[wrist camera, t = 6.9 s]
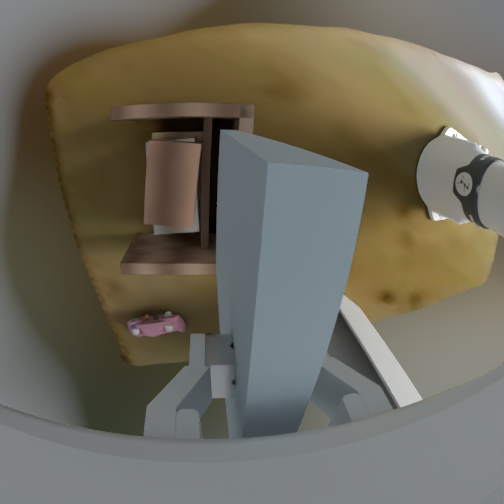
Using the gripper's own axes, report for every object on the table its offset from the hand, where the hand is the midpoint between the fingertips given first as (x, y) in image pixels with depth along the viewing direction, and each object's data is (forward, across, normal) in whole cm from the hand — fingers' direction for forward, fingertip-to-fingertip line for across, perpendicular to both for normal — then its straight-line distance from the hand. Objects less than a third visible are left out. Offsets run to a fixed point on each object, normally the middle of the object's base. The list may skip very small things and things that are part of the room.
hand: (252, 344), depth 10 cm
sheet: (+20, 0, 0) cm, 20 cm away
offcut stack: (+33, +6, 0) cm, 34 cm away
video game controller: (+33, +11, +25) cm, 43 cm away
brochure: (+33, -21, +22) cm, 45 cm away
